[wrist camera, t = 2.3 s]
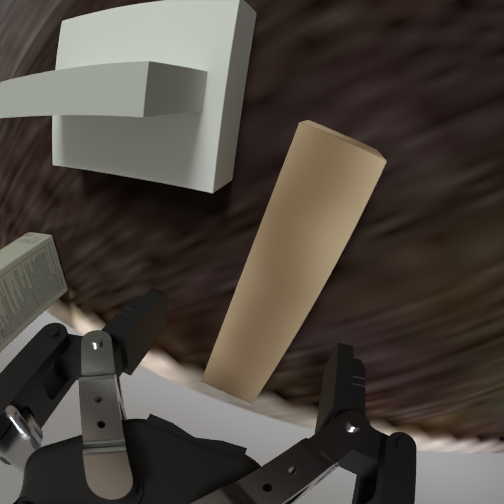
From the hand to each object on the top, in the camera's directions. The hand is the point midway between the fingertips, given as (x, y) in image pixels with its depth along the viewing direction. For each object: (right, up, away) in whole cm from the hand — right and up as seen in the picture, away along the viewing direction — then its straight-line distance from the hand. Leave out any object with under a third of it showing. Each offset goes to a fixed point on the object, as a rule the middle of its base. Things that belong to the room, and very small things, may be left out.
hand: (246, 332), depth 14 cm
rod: (+2, +3, +6) cm, 7 cm away
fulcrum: (-6, +14, +3) cm, 15 cm away
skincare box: (-19, +3, +13) cm, 23 cm away
